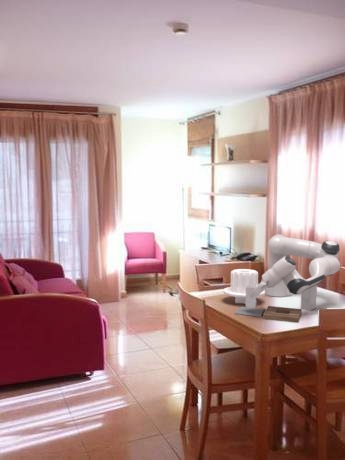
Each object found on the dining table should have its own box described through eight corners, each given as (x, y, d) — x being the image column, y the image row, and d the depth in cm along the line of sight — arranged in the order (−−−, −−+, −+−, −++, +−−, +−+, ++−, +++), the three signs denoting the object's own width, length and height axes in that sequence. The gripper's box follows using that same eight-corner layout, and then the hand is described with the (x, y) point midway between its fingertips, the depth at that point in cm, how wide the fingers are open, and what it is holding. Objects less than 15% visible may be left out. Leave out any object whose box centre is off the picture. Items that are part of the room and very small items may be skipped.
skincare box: (306, 306, 257) (307, 281, 255) (316, 308, 252) (317, 282, 251) (300, 309, 250) (300, 283, 249) (310, 311, 246) (310, 285, 245)
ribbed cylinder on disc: (264, 308, 252) (265, 275, 251) (221, 305, 257) (222, 274, 256) (264, 297, 277) (265, 268, 275) (225, 295, 282) (225, 266, 280)
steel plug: (247, 305, 246) (247, 285, 245) (256, 305, 244) (256, 286, 243) (245, 307, 241) (245, 287, 240) (254, 307, 239) (254, 288, 239)
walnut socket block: (268, 310, 248) (268, 305, 248) (301, 313, 241) (301, 309, 241) (263, 318, 231) (263, 314, 231) (298, 322, 225) (298, 317, 224)
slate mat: (240, 307, 253) (240, 306, 253) (264, 310, 248) (264, 309, 248) (234, 314, 240) (234, 313, 240) (260, 316, 235) (260, 315, 235)
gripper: (270, 287, 228) (252, 304, 232) (276, 280, 247) (258, 296, 251) (262, 278, 229) (243, 295, 233) (268, 272, 248) (251, 288, 252)
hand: (251, 296), depth 242 cm, fingers closed on steel plug, 5 cm apart
